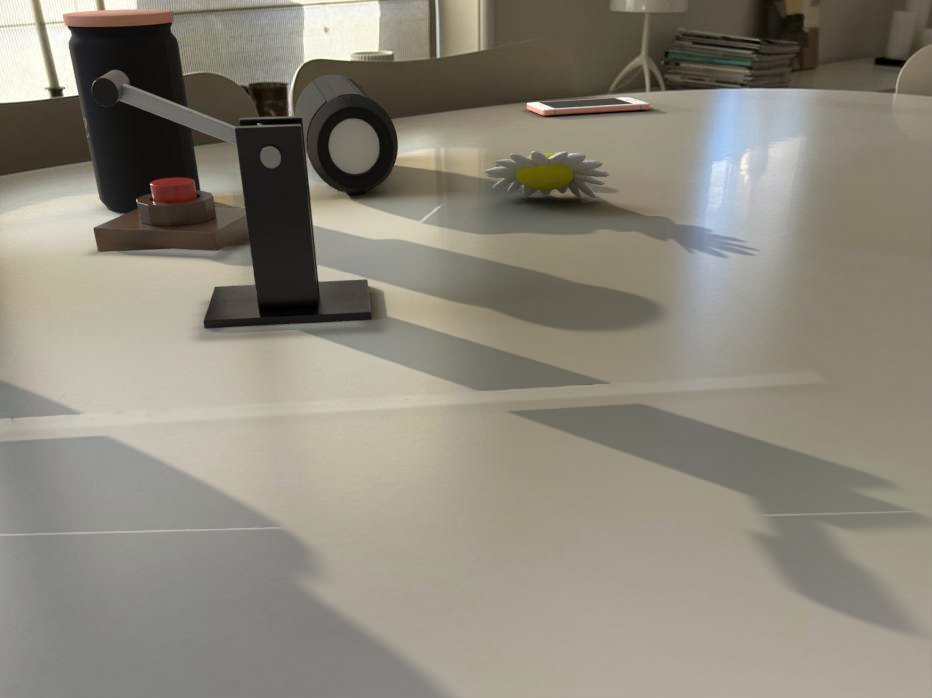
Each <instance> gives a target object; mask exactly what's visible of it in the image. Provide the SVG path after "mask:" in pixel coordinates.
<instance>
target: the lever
mask: <svg viewBox="0 0 932 698" xmlns="http://www.w3.org/2000/svg"><path fill="white" fill-rule="evenodd" d="M92 95H93V97H94V99H95V100H96V102H97V103H99V104H100V105H102V106H106V107H109V106H112V105H114V104H115V103H117V102H118V101H122V102H125V103H127V104H130V105H132V106H135V107H138V108H140V109H143V110H145V111H148V112H151V113H153V114H156V115H158V116H161V117H164V118H166V119H169V120H171V121H174V122H177V123H179V124H182V125H184V126H187V127H190V128H191V130H192V129H193V130H195V131H198V132H200V133H203V134H206V135H208V136H211V137H213V138H215V139H218V140H221V141H224V142H226V143H229V144H232V145H234V146H237V143H236V135H235V128H236V126H237V125H236V126H235V125H232V124H231V123H227V122H226V121H222V120H220V119H218V118H215V117H212V116H210V115H208V114H204V113H202V112H199V111H197V110H194V109H191V108H190V107H188V108H187V107H184V106H182V105H179V104H176V103H174V102H171V101H169V100H166V99H164V98H161V97H158V96H156V95H153V94H151V93H148V92H146V91H143V90H140V89H138V88H135V87H133V86H130V81H129V79H128V77H127V76H126V75H125V74H124V73H123V72H121V71H119V70H112V71H110V72H108V73H106V74H105V75H103V76H102V77H100V78H98V79H97V80H95V81H94V83H93V85H92ZM258 125H263V124H261V123H258ZM258 125H257V126H258Z"/></svg>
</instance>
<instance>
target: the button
mask: <svg viewBox="0 0 932 698" xmlns="http://www.w3.org/2000/svg"><path fill="white" fill-rule="evenodd" d="M150 187H151V192H152V198H153V202H163V203H172V202H184V201H189V200H195V199H197V194H196V187H195V181H194V180H193V179H190V178H165V179H159V180H155V181H152V182H151V183H150Z"/></svg>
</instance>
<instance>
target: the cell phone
mask: <svg viewBox="0 0 932 698" xmlns="http://www.w3.org/2000/svg"><path fill="white" fill-rule="evenodd" d="M649 109H650V103H649V102H647V101H642V100H640V99H636V98H633V97H629V96H623V97H602V98H601V97H600V98H586V99H566V100H552V101H551V100H550V101H548V100H547V101H533V102H527V103H526V110H528V111H531V112H533V113H536V114H539V115H540V116H557V115H558V116H559V115H561V116H562V115H576V114H591V113H592V114H593V113H608V112H609V113H610V112H625V111H627V112H629V111H640V110H641V111H645V110H649Z"/></svg>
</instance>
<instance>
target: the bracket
mask: <svg viewBox="0 0 932 698" xmlns="http://www.w3.org/2000/svg"><path fill="white" fill-rule="evenodd" d="M258 123H261V124H263V125H258ZM238 124H239V125H236V128H235V135H236V143H237V145H236V149H237V155H238V164H239V173H240V180H241V187H242V196H243V203H244V204H243V205H244V208H245V211H246V219H247V226H248V234H249V239H248V242H249V248H250V249H249V250H250V257H251V265H252V272H253V279H254V284H243V285H241V284H240V285H221V286H220V285H219V286H214V288H213V289H212V294H211V297H210V298H209V299H210V300H209V303H208V305H207V309H206V311H205V315H204V318H203V329H220V328H221V329H222V328H237V327H239V328H240V327H258V326H259V327H260V326H279V325H296V324H297V325H298V324H316V323H318V324H319V323H333V322H334V323H335V322H336V323H339V322H355V321H356V322H357V321H372V320H373V316H372V307H371V297H370V289H369V281H368V279H367V278H365V279H346V280H343V279H342V280H326V281H325V280H323V281H319V273H318V272H319V271H318V263H317V251H316V241H315V232H314V230H315V229H314V221H313V212H312V211H313V210H312V200H311V192H310V191H311V190H310V182H309V181H310V180H309V171H308V161H307V153H306V149H305V139H304V129H303V119H302V116H295V115H289V116H288V115H287V116H286V115H285V116H258V117H257V116H256V117H255V116H253V117H240V118H239V120H238ZM257 125H258V126H257Z"/></svg>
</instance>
